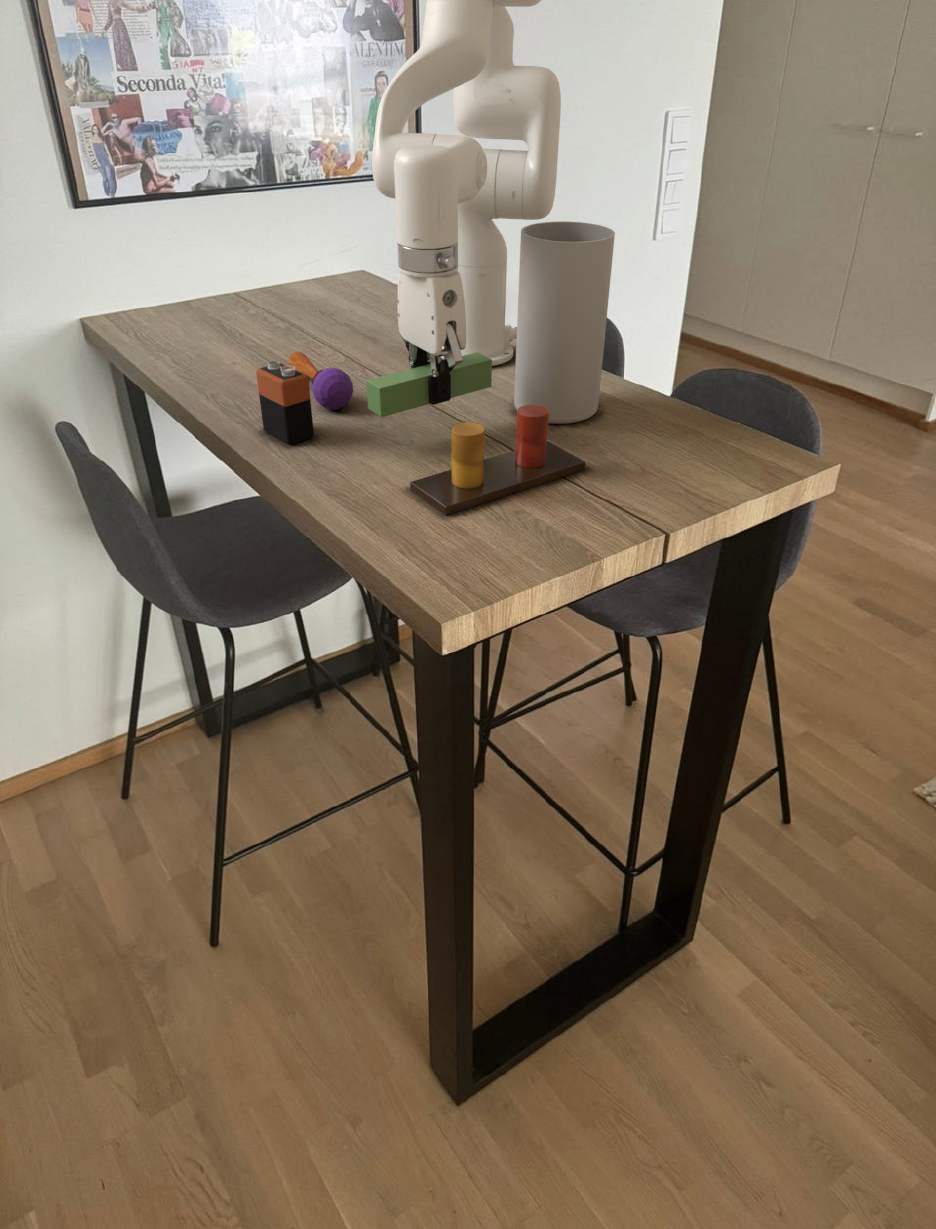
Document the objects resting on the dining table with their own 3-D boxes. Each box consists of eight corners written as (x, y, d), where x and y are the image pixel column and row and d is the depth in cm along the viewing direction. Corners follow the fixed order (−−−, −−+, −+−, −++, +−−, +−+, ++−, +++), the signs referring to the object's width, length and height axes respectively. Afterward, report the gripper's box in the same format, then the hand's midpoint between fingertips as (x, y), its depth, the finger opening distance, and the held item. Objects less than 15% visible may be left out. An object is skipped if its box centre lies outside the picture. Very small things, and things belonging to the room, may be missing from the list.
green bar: (477, 379, 128) (477, 351, 125) (491, 387, 125) (492, 359, 123) (367, 408, 119) (365, 379, 117) (381, 417, 117) (379, 388, 115)
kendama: (317, 344, 145) (360, 374, 130) (314, 381, 148) (357, 414, 132) (281, 342, 142) (321, 372, 127) (279, 380, 145) (318, 414, 130)
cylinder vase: (502, 418, 131) (508, 237, 116) (527, 389, 140) (536, 218, 126) (586, 431, 127) (602, 246, 113) (605, 400, 137) (623, 226, 122)
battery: (289, 446, 122) (281, 375, 117) (262, 431, 126) (253, 362, 121) (315, 437, 125) (309, 367, 119) (288, 423, 129) (280, 355, 123)
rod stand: (546, 448, 122) (549, 391, 118) (584, 469, 117) (590, 410, 112) (410, 490, 112) (408, 429, 107) (445, 515, 107) (445, 452, 102)
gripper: (491, 268, 108) (489, 410, 119) (417, 239, 119) (421, 372, 130) (439, 278, 104) (442, 424, 115) (368, 247, 115) (376, 383, 126)
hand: (431, 395), depth 122 cm, fingers closed on green bar, 3 cm apart
